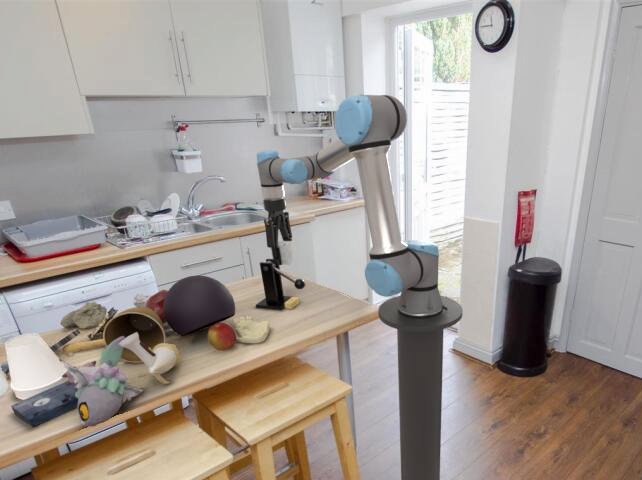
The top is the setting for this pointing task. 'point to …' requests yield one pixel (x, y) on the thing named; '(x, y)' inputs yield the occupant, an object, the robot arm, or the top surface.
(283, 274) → the slicer arm
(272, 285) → the black lever stand
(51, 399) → the vhs cassette tape
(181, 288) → the dark purple dome
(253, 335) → the lumpy plaster cast
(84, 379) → the toy
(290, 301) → the butter
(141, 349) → the toy gun
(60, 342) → the toy
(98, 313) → the fossil
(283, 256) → the white cardboard box
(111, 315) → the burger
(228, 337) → the apple
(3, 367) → the wristwatch
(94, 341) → the novelty tool
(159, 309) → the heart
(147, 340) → the plant pot
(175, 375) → the top surface
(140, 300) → the skull
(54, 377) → the cup
